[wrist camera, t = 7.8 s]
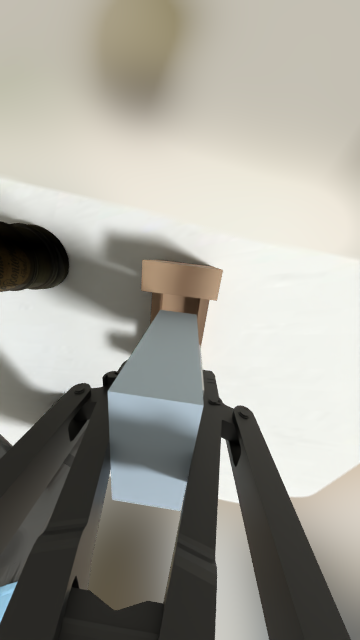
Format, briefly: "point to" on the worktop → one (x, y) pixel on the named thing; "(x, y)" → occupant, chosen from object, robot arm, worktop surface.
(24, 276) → the container
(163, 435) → the door
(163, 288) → the frame
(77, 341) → the worktop surface
